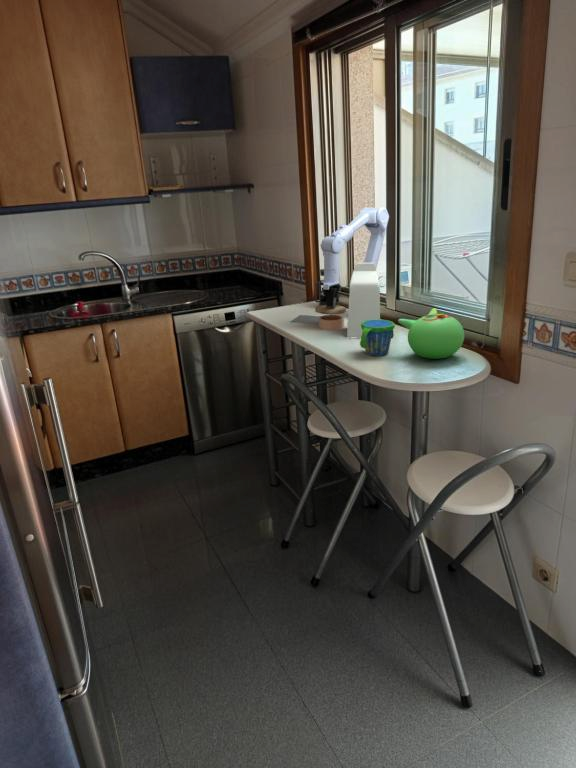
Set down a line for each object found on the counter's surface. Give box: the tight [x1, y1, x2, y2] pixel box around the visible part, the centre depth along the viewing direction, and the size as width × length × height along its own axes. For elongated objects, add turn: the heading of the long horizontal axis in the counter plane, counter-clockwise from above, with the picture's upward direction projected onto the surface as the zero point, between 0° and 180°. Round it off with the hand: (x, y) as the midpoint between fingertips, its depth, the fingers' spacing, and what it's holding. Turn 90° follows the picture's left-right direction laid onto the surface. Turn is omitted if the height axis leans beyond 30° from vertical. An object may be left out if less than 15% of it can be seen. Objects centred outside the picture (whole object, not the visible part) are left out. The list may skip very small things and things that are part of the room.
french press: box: [314, 268, 340, 306], centre depth 242 cm, size 12×9×23 cm
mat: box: [289, 314, 321, 325], centre depth 223 cm, size 13×13×1 cm
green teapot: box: [397, 307, 465, 360], centre depth 170 cm, size 18×17×15 cm
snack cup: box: [359, 318, 396, 357], centre depth 176 cm, size 16×10×10 cm
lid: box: [314, 298, 347, 315], centre depth 208 cm, size 12×12×5 cm
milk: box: [346, 262, 381, 338], centre depth 197 cm, size 12×12×26 cm
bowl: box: [318, 314, 345, 331], centre depth 210 cm, size 10×10×4 cm
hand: (331, 305), depth 208 cm, fingers closed on lid, 3 cm apart
